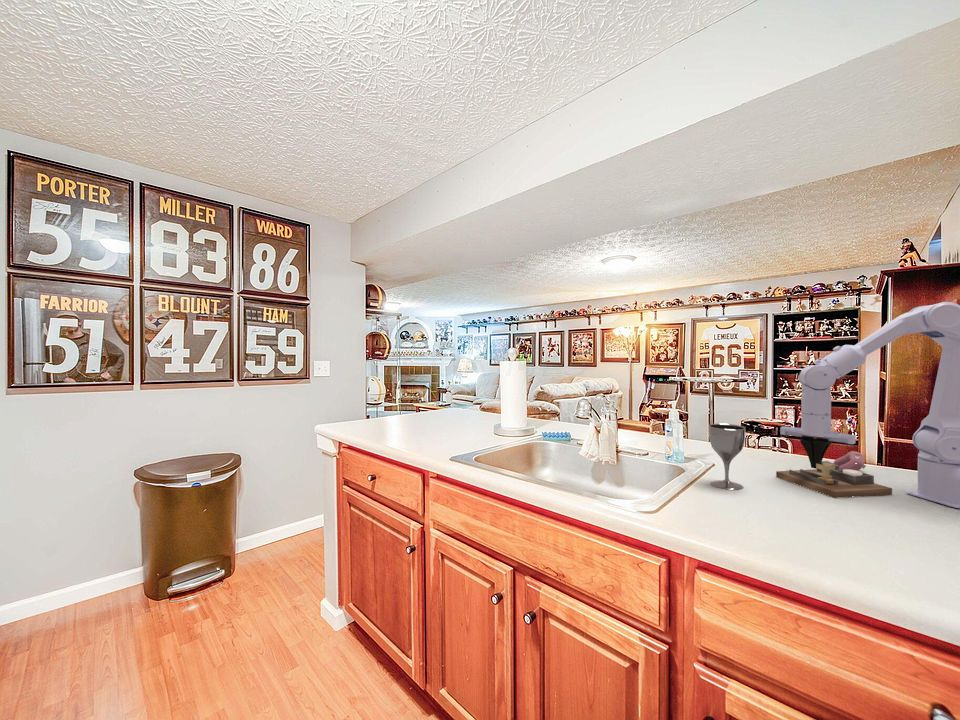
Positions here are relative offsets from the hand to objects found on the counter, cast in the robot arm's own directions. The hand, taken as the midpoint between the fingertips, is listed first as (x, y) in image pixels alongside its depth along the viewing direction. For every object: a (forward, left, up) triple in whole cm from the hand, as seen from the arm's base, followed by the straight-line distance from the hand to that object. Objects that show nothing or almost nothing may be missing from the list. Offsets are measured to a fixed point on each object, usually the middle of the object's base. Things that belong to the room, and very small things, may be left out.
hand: (815, 467), depth 101 cm
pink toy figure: (+9, -20, -5) cm, 22 cm away
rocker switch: (+4, -9, -1) cm, 10 cm away
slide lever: (-2, 0, -3) cm, 4 cm away
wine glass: (+4, +21, -5) cm, 22 cm away
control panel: (0, -4, -5) cm, 6 cm away
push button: (-2, -8, -3) cm, 9 cm away
